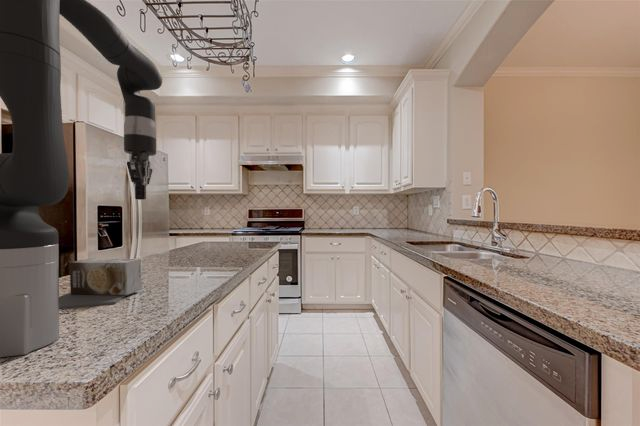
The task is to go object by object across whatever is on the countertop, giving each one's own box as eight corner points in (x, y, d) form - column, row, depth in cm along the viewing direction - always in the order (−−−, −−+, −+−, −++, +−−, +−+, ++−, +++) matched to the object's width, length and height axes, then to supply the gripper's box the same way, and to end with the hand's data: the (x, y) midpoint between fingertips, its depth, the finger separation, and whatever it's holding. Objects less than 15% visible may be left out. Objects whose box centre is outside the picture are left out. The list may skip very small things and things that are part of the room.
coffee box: (126, 296, 76) (69, 296, 77) (142, 289, 82) (90, 289, 83) (124, 261, 76) (68, 262, 77) (141, 257, 82) (89, 258, 83)
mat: (115, 303, 71) (115, 301, 71) (36, 310, 67) (36, 307, 67) (132, 291, 83) (132, 288, 83) (66, 295, 78) (66, 293, 78)
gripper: (148, 130, 72) (148, 198, 72) (162, 142, 85) (162, 200, 85) (114, 128, 70) (114, 198, 70) (133, 141, 83) (133, 200, 83)
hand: (140, 199), depth 78 cm, fingers closed
